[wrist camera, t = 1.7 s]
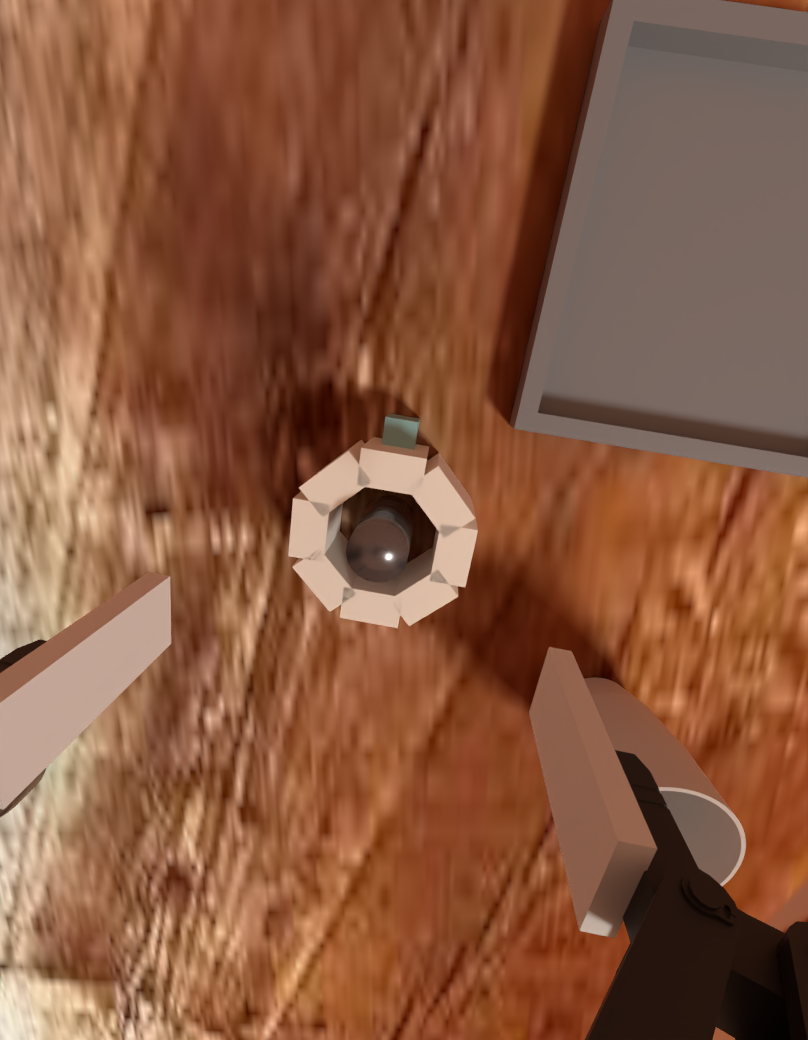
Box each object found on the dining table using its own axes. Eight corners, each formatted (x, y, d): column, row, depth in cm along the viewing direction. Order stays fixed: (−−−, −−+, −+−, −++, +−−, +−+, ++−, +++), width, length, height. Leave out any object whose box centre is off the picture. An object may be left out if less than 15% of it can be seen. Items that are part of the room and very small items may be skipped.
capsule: (360, 539, 29) (342, 576, 24) (366, 491, 28) (349, 519, 23) (409, 548, 29) (402, 587, 24) (418, 500, 28) (412, 530, 23)
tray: (509, 424, 26) (514, 428, 24) (600, 21, 20) (616, -15, 19) (826, 477, 26) (856, 486, 24) (1012, 79, 20) (1072, 48, 18)
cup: (544, 651, 31) (589, 777, 21) (668, 665, 30) (770, 800, 21) (524, 746, 33) (556, 896, 24) (638, 760, 33) (717, 919, 23)
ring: (304, 577, 30) (284, 607, 27) (320, 401, 27) (300, 407, 23) (452, 604, 30) (454, 638, 26) (490, 430, 26) (497, 440, 23)
